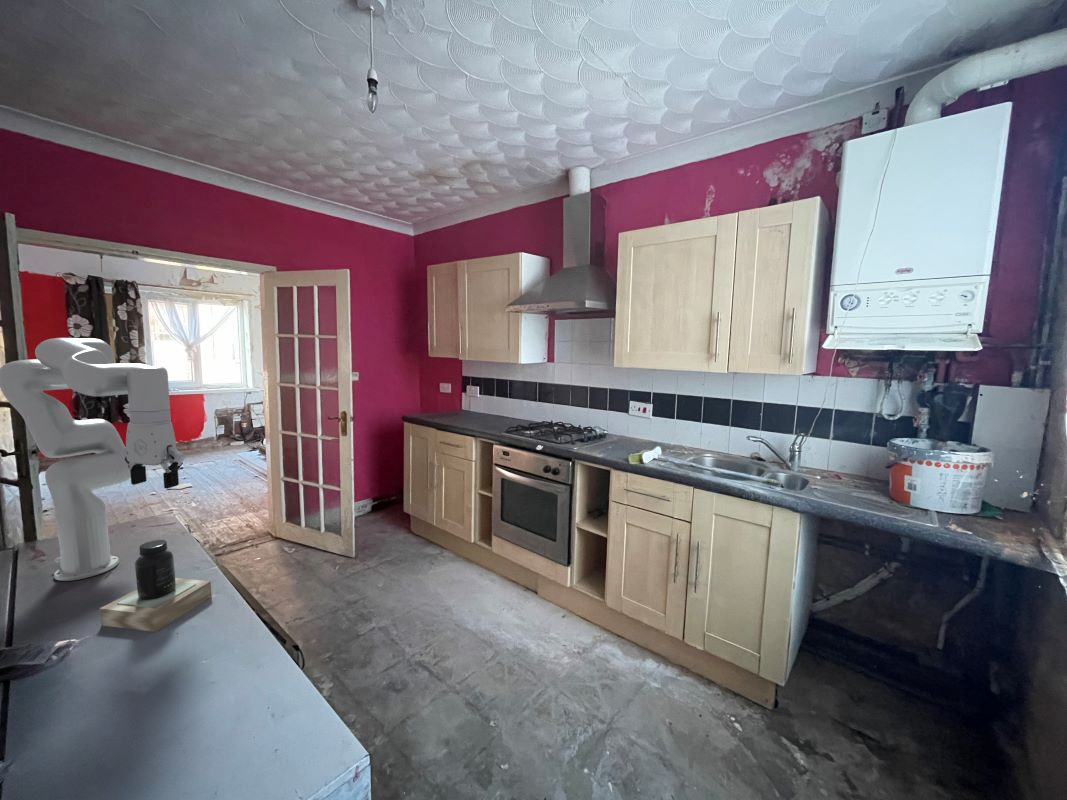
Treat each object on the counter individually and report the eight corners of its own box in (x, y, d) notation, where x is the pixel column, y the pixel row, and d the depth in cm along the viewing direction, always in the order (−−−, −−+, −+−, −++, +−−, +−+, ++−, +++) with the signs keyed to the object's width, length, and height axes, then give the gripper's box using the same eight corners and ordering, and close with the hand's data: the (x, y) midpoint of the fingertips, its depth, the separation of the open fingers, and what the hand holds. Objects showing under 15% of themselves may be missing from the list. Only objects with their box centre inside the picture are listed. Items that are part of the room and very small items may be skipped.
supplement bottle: (129, 599, 101) (124, 548, 100) (160, 583, 108) (156, 536, 106) (154, 602, 100) (149, 551, 98) (183, 586, 106) (179, 539, 105)
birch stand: (101, 625, 98) (99, 607, 98) (163, 591, 112) (161, 575, 112) (155, 631, 96) (153, 613, 96) (211, 596, 110) (210, 580, 110)
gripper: (104, 416, 106) (110, 486, 108) (164, 422, 103) (169, 493, 105) (137, 412, 113) (142, 477, 115) (194, 417, 110) (198, 483, 112)
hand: (155, 485), depth 110 cm, fingers open, 9 cm apart
